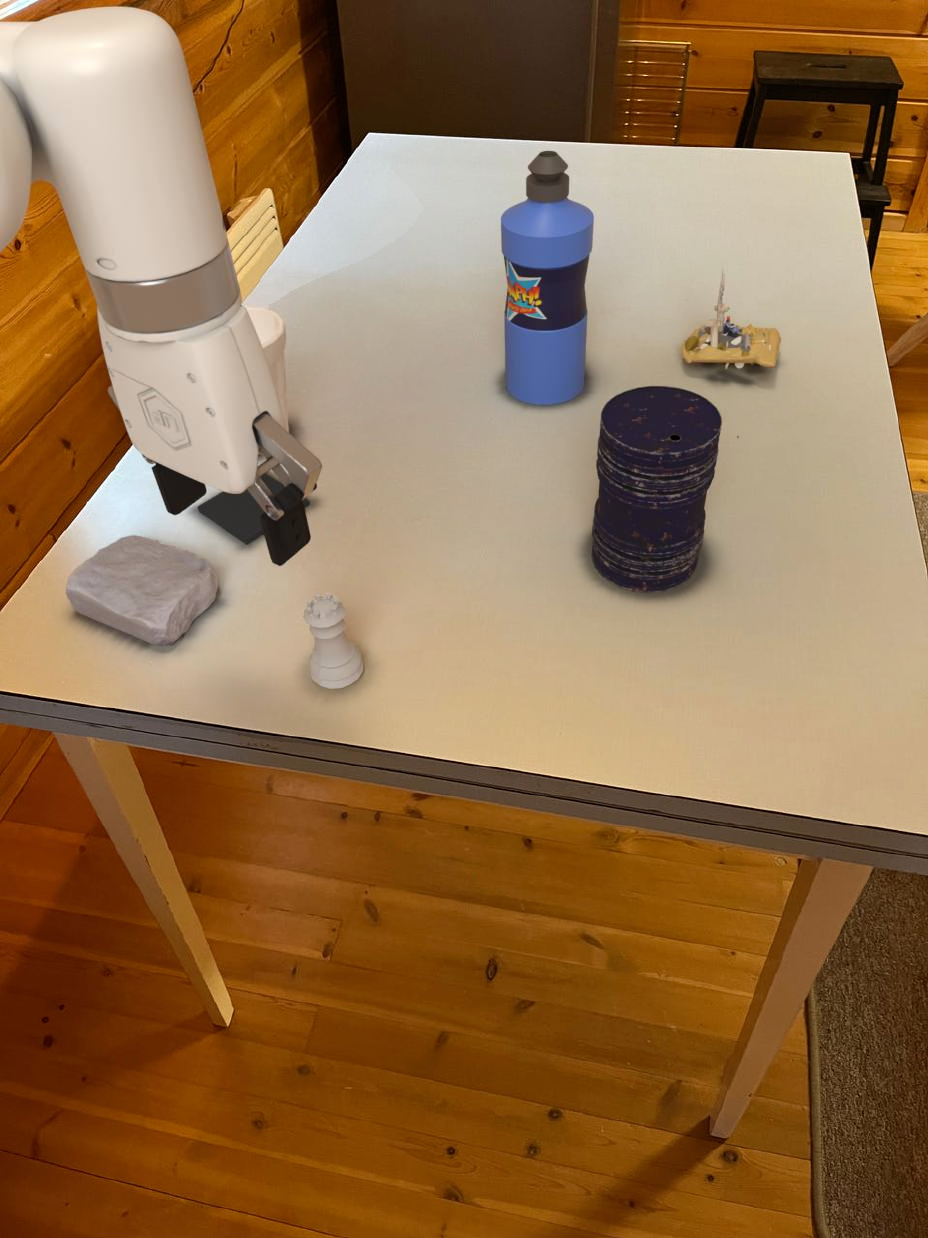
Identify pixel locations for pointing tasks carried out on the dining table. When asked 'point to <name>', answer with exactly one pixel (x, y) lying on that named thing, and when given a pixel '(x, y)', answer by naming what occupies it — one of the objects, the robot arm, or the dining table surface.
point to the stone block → (143, 588)
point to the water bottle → (546, 287)
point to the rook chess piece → (331, 644)
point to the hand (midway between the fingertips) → (238, 527)
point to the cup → (272, 348)
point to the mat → (240, 511)
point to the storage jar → (653, 486)
